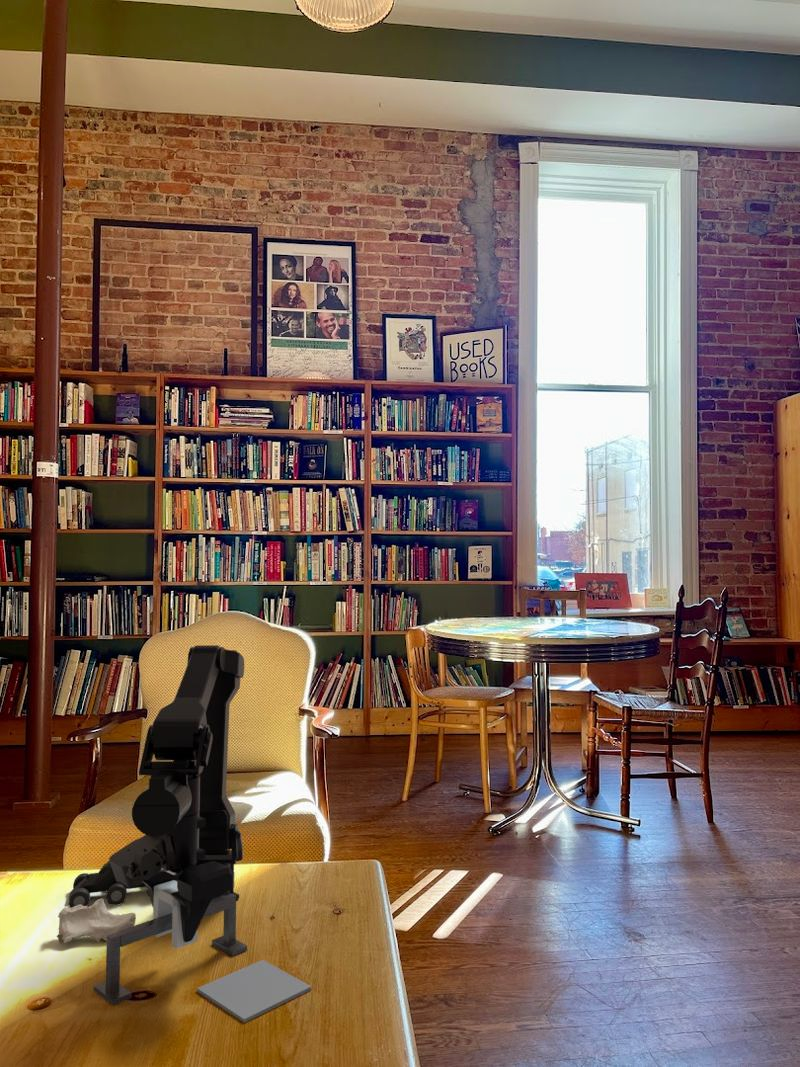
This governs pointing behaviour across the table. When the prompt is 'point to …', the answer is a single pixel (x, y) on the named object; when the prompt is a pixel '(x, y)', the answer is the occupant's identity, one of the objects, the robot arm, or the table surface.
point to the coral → (91, 922)
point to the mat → (253, 990)
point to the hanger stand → (227, 942)
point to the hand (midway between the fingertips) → (175, 933)
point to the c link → (170, 905)
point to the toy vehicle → (99, 887)
